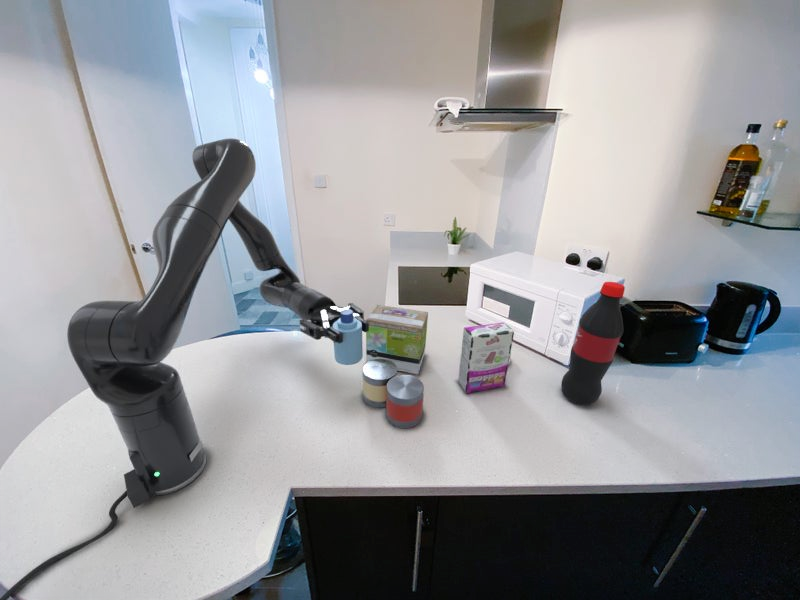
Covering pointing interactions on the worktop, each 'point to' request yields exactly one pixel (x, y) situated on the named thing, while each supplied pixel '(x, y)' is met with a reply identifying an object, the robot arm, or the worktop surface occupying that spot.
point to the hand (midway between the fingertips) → (354, 333)
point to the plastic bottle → (348, 339)
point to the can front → (404, 401)
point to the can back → (377, 381)
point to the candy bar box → (485, 356)
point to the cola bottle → (594, 346)
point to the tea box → (397, 337)
